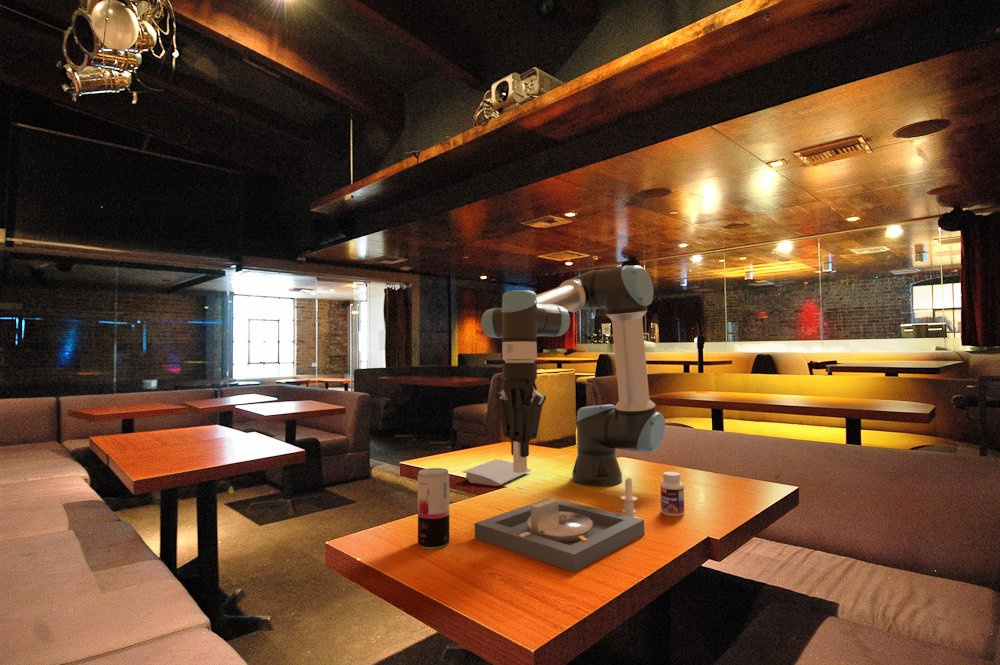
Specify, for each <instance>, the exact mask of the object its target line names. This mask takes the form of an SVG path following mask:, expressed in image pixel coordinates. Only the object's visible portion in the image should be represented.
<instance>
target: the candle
mask: <svg viewBox="0 0 1000 665" xmlns="http://www.w3.org/2000/svg"><path fill="white" fill-rule="evenodd" d="M624 483H625V484H624V485H625V486H624V488H625V489H624V495H622V496H620V499H621V500H623V501H624V502H623V506H624V508H622V514H623V515H626V516H631V517H635V518H639V519H641V518H640V517H639V516H635V515H636V513H637V510H636V509H634V508H635V503H634V502H635V501H637V500H638V497H636V496H635V495H634V496H633V481H632V478H631V477H629V476H628V477H627V478H625V480H624Z"/></svg>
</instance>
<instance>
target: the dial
mask: <svg viewBox="0 0 1000 665" xmlns="http://www.w3.org/2000/svg"><path fill="white" fill-rule="evenodd" d="M559 500H560V499H558V500H556V498H553V499H549V500H546V501H543V502H540V503H538V504H535V505H532V506H531V517H529V518H528V520H527V530H528V532H530V533H531V534H534V535H537V536H540V537H543V538H547V539H550V540H553V541H557V542H560V543H567V542H577V541H581V539H579V538H578V536H584V537H585V538H588V537H590V536H591V535H592V534H593V522H592V520H591V519H590V518H588V517H586V516H584V515H581V514H577V513H572V512H561V511H559Z"/></svg>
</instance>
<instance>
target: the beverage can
mask: <svg viewBox="0 0 1000 665" xmlns="http://www.w3.org/2000/svg"><path fill="white" fill-rule="evenodd" d="M450 537H451V535H450V473H449V469H446V468H441V467H430V468H424V469H420V470H419V471H418V474H417V544H418V545H419V546H420V547H421V548H422V549H427V550H436V549H437V550H438V549H442V548H444V547H446V546H447V545H448V544H449V543H450Z"/></svg>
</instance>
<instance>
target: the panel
mask: <svg viewBox="0 0 1000 665" xmlns="http://www.w3.org/2000/svg"><path fill="white" fill-rule="evenodd" d="M549 499H554V498H553V497H547V498H545V499H544V498H543V499H541V500H538V501H536V502H532V503H529V504H527V505H523V506H521V507H518V508H514V509H512V510H509V511H506V512H503V513H500V514H497V515H494V516H491V517H489V518H485V519H483V520H479V521H477V522H474V539H476V540H480V541H482V542H486V543H488V544H491V545H494V546H496V547H500V548H502V549H505V550H508V551H511V552H514V553H516V554H520V555H522V556H526V557H529V558H531V559H535V560H537V561H541V562H542V563H543V562H544V563H546V564H549V565H551V566H555V567H558V568H560V569H562V570H563V569H564V570H566V571H569V572H572V573H576V572H579V571H580V570H583V569H584V568H586V567H587V566H590V565H591V564H593V563H594V562H597V561H598V560H600V559H602V558H605V557H606V556H607V555H610V554H611V553H613V552H615V551H617V550H618V549H622V548H623V547H624V546H627V545H628V544H630V543H632V542H633V541H636V540H637V539H640V537H642V536H644V535H645V519H642V518H640V517H638V518H635V517H631V516H626V515H625V514H623V513H622V514H621V513H619V512H617V513H616V512H612V511H608V510H605V509H604V510H603V509H601V508H600V509H599V508H595V507H591V506H586V505H583V504H578V503H574V502H570V501H565V500H562V499H556V498H555V499H556V500H559V511H561V512H572V513H577V514H581V515H584V516H586V517H588V518H590V519H591V520H592V522H593V534H592V535H591V536H590V537H588V538H585V537H584V536H578V538H579V539H581V541H577V542H567V543H560V542H557V541H553V540H550V539H547V538H543V537H540V536H537V535H534V534H531V533H530V532H528V530H527V520H528V518H529V517H531V506H532V505H535V504H538V503H540V502H543V501H546V500H549ZM639 518H640V519H639Z"/></svg>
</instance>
